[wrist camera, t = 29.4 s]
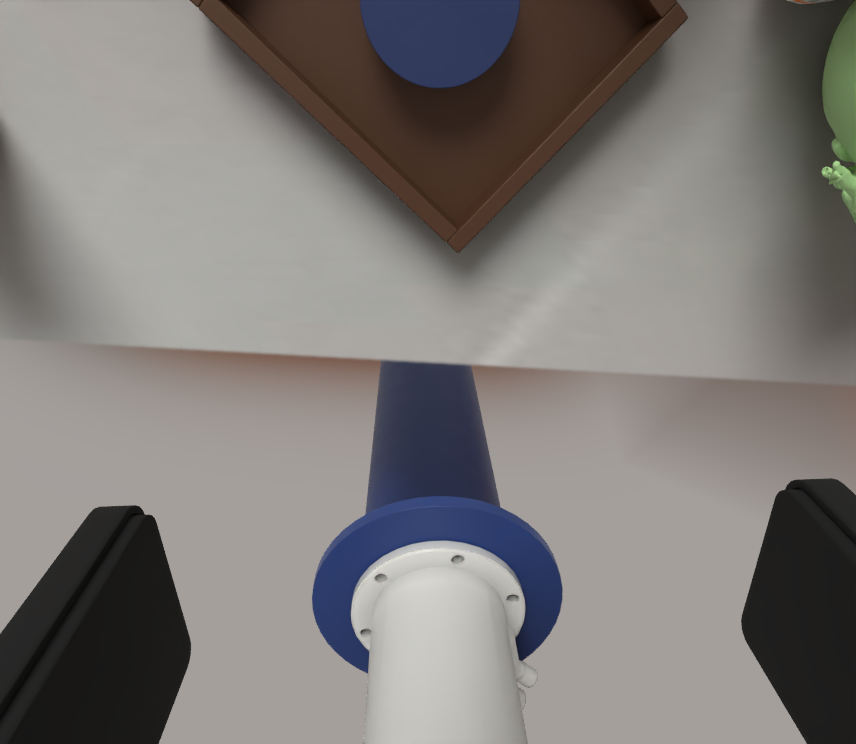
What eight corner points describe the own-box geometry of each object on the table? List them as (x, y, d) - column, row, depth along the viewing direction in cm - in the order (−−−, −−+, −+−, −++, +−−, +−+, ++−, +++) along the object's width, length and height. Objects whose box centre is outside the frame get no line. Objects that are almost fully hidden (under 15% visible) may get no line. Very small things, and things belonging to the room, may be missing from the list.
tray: (667, 21, 27) (689, 17, 25) (454, 241, 31) (458, 254, 29) (411, -320, 22) (412, -362, 20) (199, -2, 26) (180, -8, 24)
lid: (331, 5, 26) (324, -2, 23) (436, -129, 24) (438, -149, 22) (437, 118, 28) (440, 122, 26) (541, 5, 26) (554, -2, 24)
